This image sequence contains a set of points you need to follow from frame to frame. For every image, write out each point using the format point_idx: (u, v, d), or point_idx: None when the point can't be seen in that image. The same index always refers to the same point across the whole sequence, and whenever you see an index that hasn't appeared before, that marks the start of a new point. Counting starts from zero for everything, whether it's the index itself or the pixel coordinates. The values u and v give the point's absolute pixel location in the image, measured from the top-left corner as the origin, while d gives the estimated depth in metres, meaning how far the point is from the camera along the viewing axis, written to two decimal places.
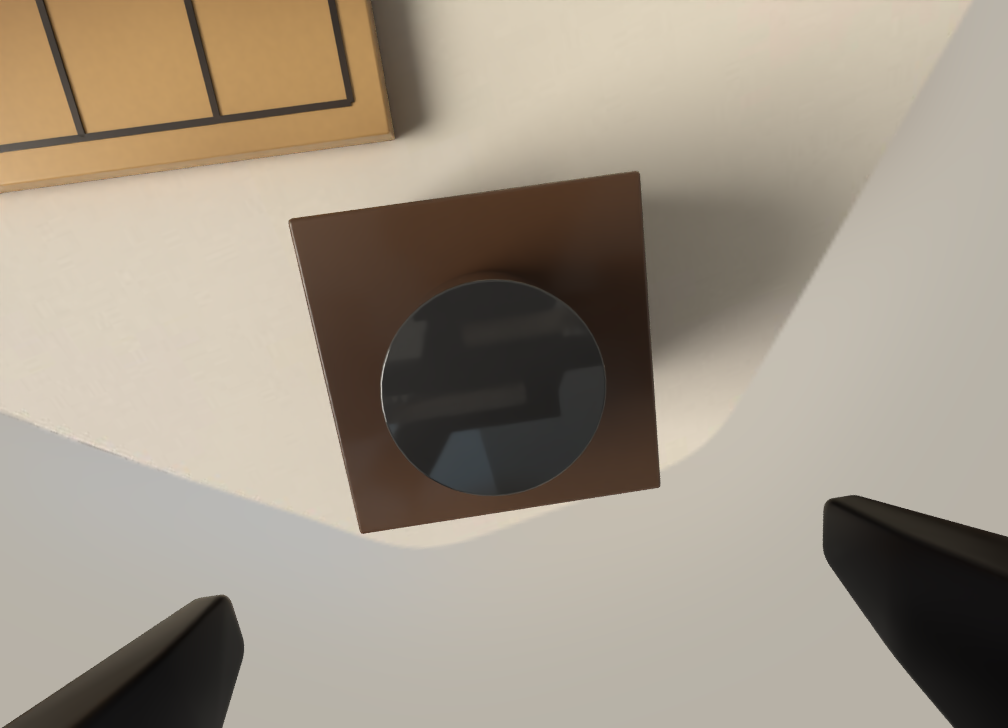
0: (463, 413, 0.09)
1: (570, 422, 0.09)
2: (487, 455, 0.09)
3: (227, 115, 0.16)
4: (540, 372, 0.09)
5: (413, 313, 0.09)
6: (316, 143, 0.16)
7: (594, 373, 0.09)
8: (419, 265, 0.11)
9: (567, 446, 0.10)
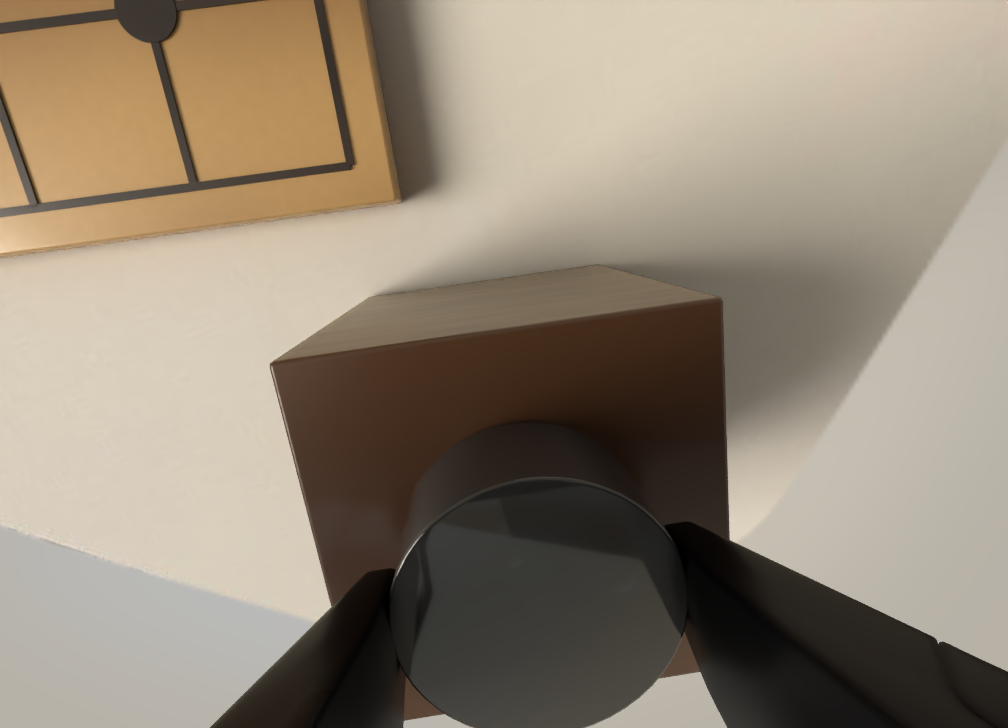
0: (500, 641, 0.07)
1: (640, 647, 0.07)
2: (529, 690, 0.07)
3: (205, 181, 0.13)
4: (602, 591, 0.07)
5: (433, 522, 0.06)
6: (310, 212, 0.14)
7: (674, 589, 0.07)
8: (438, 417, 0.08)
9: (635, 676, 0.07)
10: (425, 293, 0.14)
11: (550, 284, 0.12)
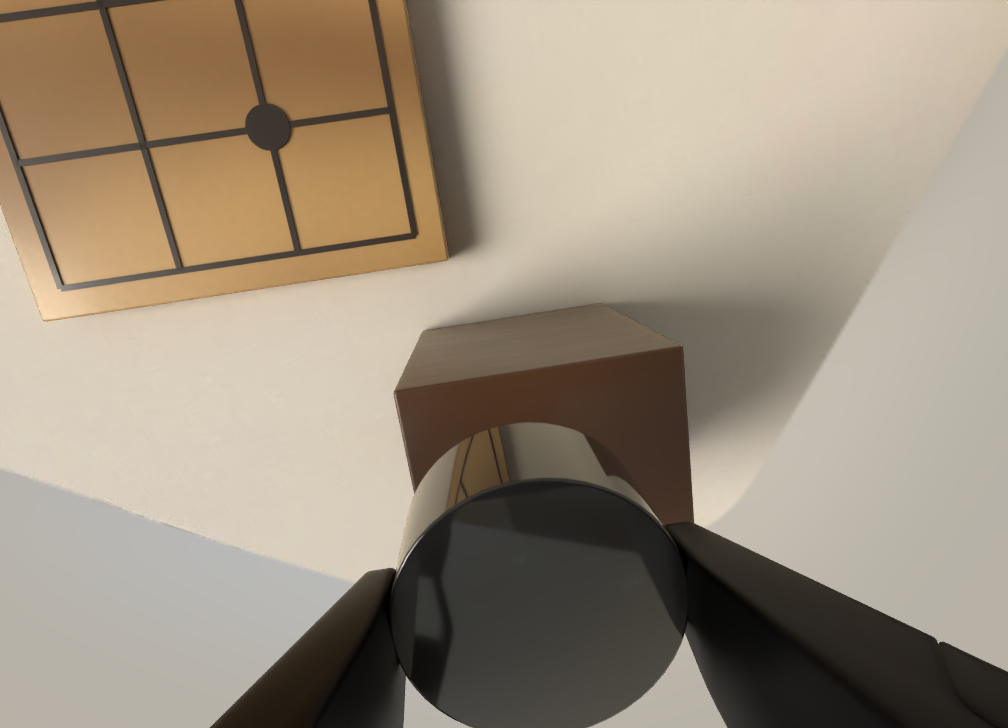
0: (500, 642, 0.07)
1: (640, 649, 0.07)
2: (530, 690, 0.07)
3: (306, 249, 0.18)
4: (603, 591, 0.07)
5: (434, 522, 0.06)
6: (383, 269, 0.18)
7: (675, 590, 0.07)
8: (500, 424, 0.13)
9: (635, 677, 0.07)
10: (469, 329, 0.19)
11: (566, 325, 0.17)
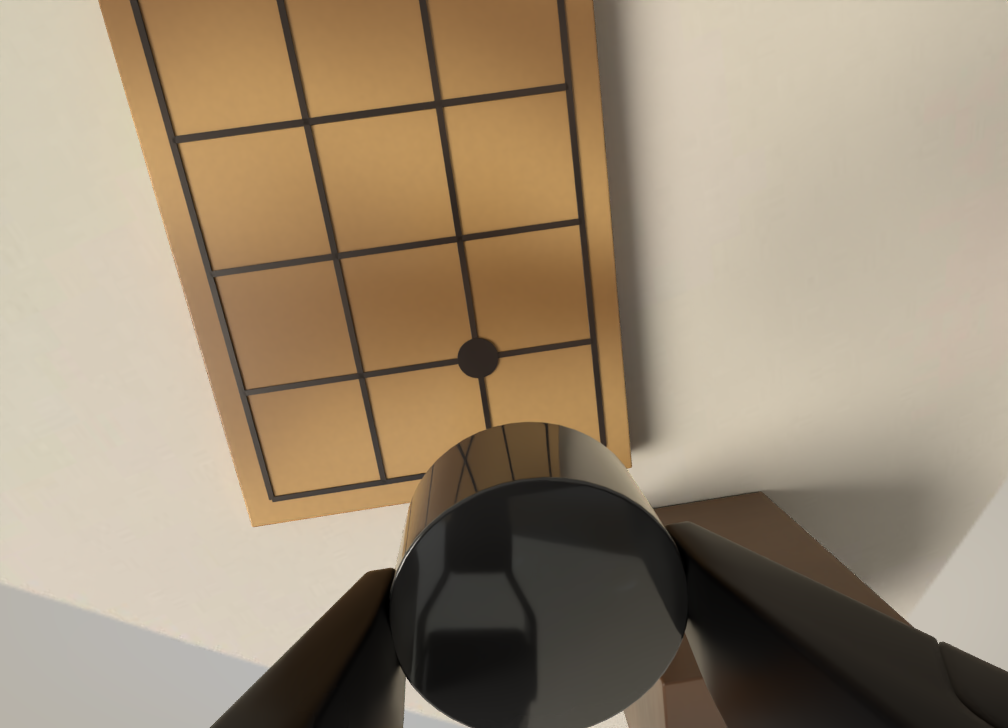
0: (500, 641, 0.07)
1: (640, 649, 0.07)
2: (529, 691, 0.07)
3: None
4: (603, 591, 0.07)
5: (433, 522, 0.06)
6: None
7: (675, 590, 0.07)
8: None
9: (635, 677, 0.07)
10: None
11: (757, 546, 0.18)
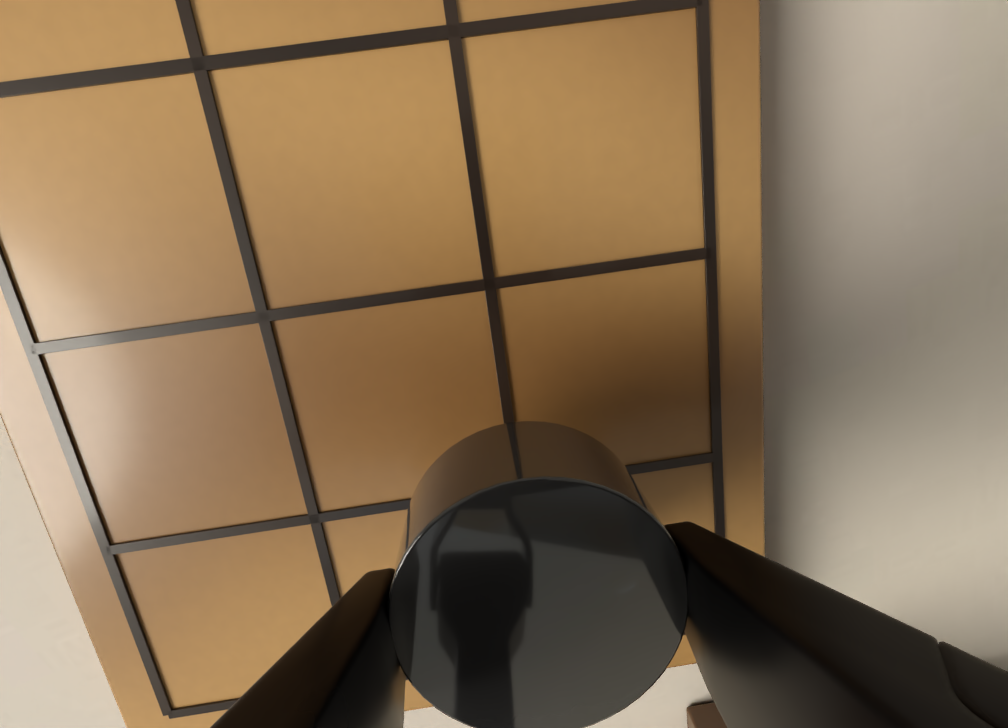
0: (500, 641, 0.07)
1: (640, 647, 0.07)
2: (529, 690, 0.07)
3: None
4: (603, 590, 0.07)
5: (433, 521, 0.06)
6: None
7: (674, 589, 0.07)
8: None
9: (635, 676, 0.07)
10: None
11: None
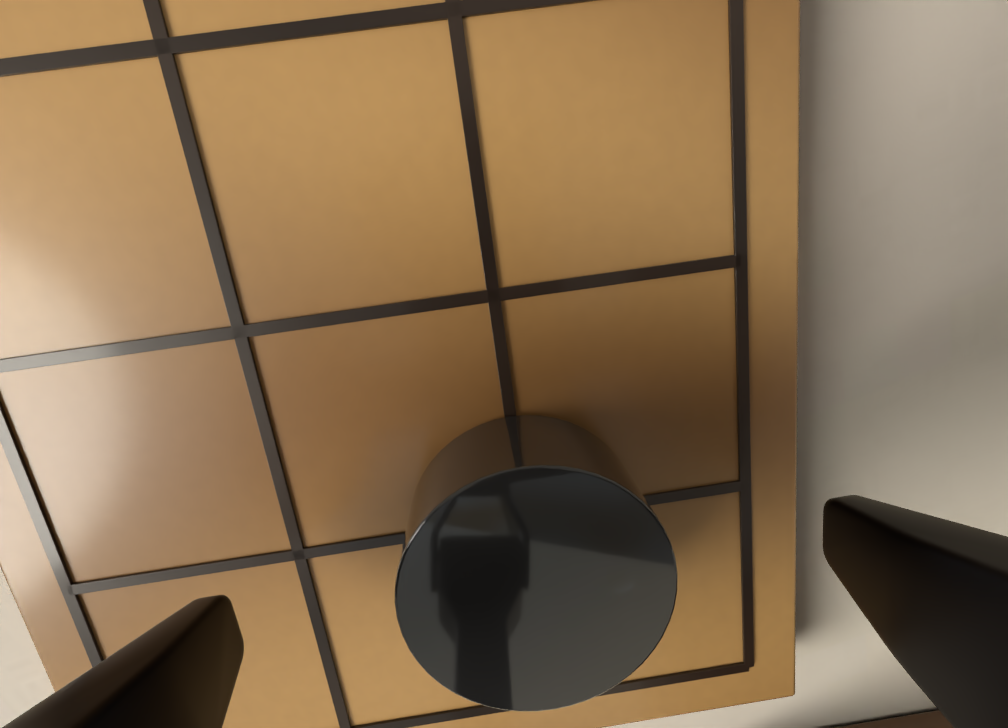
0: (499, 620, 0.07)
1: (631, 626, 0.08)
2: (527, 666, 0.08)
3: None
4: (596, 572, 0.07)
5: (437, 507, 0.07)
6: (685, 711, 0.11)
7: (663, 571, 0.07)
8: None
9: (627, 654, 0.08)
10: None
11: None
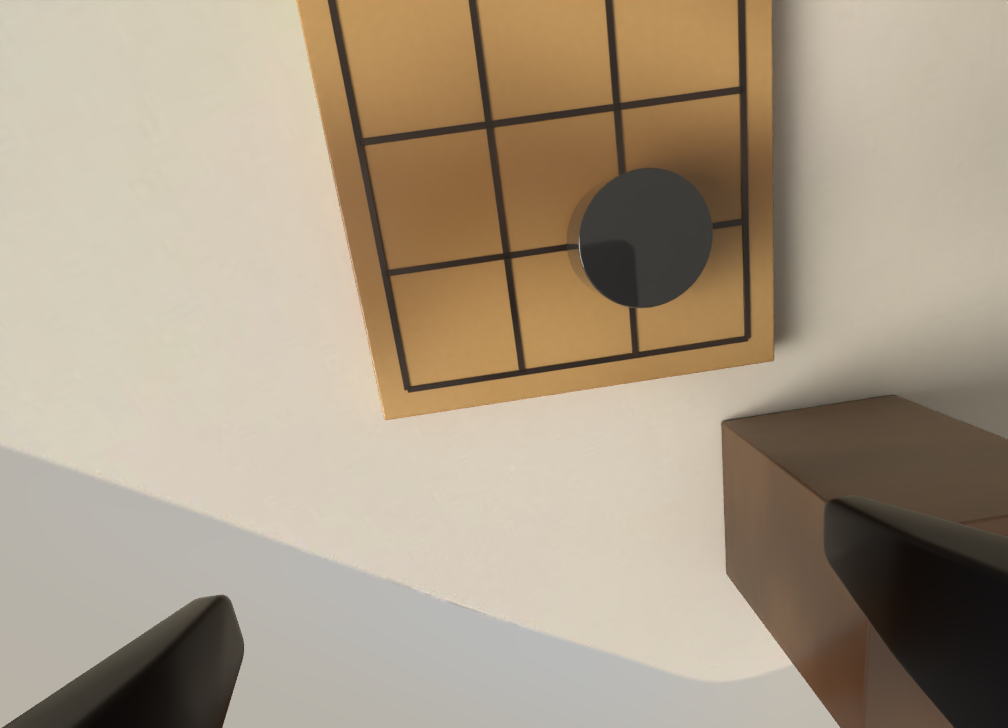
0: (627, 252, 0.15)
1: (690, 259, 0.16)
2: (639, 280, 0.16)
3: (644, 351, 0.18)
4: (674, 226, 0.15)
5: (602, 188, 0.15)
6: None
7: (706, 227, 0.15)
8: None
9: (687, 275, 0.16)
10: (785, 425, 0.19)
11: (914, 433, 0.17)
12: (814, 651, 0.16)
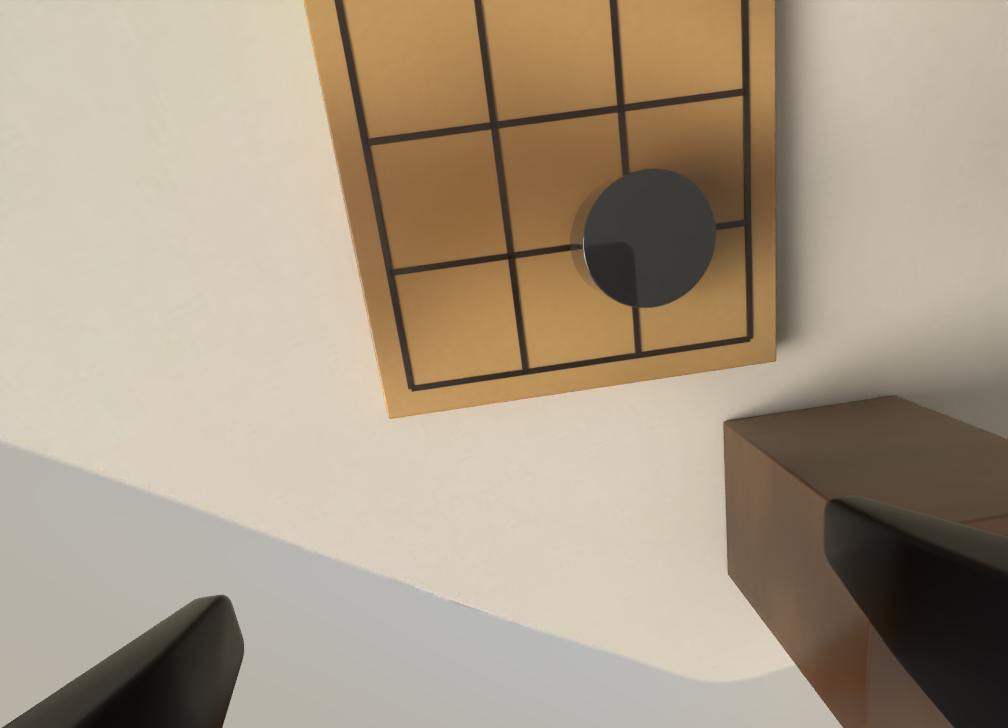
0: (631, 252, 0.15)
1: (693, 259, 0.16)
2: (642, 280, 0.16)
3: (647, 351, 0.18)
4: (677, 227, 0.15)
5: (606, 189, 0.15)
6: (713, 370, 0.19)
7: (709, 228, 0.15)
8: None
9: (690, 275, 0.16)
10: (787, 426, 0.19)
11: (915, 434, 0.17)
12: (816, 650, 0.16)
